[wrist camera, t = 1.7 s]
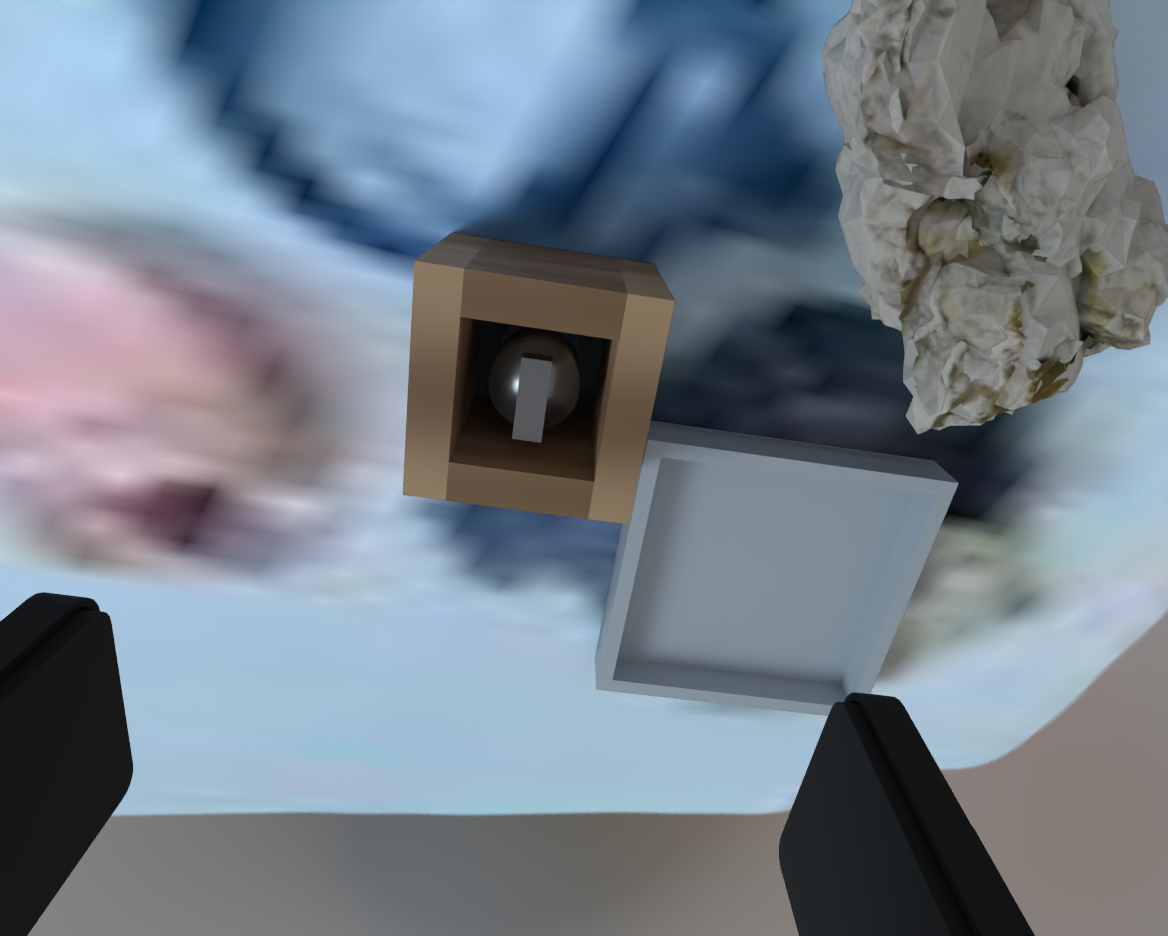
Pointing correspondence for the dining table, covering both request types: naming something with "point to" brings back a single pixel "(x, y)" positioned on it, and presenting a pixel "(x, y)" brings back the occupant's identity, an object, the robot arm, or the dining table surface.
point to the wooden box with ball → (471, 423)
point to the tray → (764, 568)
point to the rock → (992, 196)
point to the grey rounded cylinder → (535, 379)
